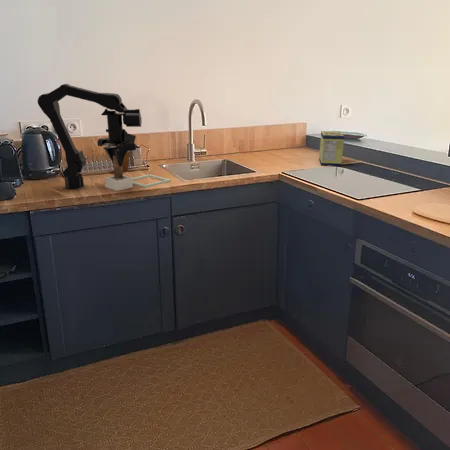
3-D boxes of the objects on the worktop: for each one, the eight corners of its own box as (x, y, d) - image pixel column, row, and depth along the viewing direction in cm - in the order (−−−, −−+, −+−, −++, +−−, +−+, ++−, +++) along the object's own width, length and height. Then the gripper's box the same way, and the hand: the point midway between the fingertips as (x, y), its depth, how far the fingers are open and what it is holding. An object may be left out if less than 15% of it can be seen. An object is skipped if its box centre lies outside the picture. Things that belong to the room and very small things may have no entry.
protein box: (338, 160, 256) (340, 131, 250) (341, 166, 241) (344, 136, 236) (318, 159, 257) (320, 130, 251) (320, 166, 242) (323, 135, 237)
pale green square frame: (144, 189, 196) (144, 185, 195) (124, 183, 205) (124, 179, 204) (170, 183, 206) (170, 179, 205) (150, 178, 215) (149, 174, 214)
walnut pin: (117, 178, 192) (116, 157, 189) (112, 177, 194) (111, 155, 191) (124, 177, 195) (123, 155, 192) (119, 175, 197) (118, 154, 194)
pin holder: (116, 193, 191) (116, 181, 189) (105, 189, 196) (104, 177, 194) (133, 189, 197) (132, 177, 195) (121, 185, 202) (120, 174, 200)
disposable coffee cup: (127, 174, 220) (125, 149, 216) (107, 173, 222) (106, 148, 218) (134, 170, 229) (133, 145, 225) (116, 169, 231) (114, 144, 227)
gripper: (146, 127, 187) (147, 165, 193) (118, 122, 199) (120, 159, 204) (122, 130, 179) (125, 170, 185) (95, 125, 191) (98, 163, 197)
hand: (117, 165), depth 193 cm, fingers closed on walnut pin, 3 cm apart
